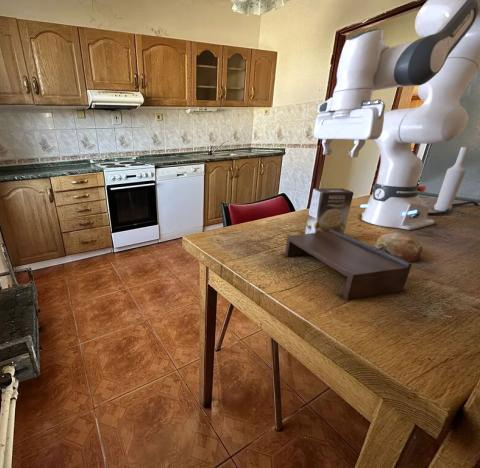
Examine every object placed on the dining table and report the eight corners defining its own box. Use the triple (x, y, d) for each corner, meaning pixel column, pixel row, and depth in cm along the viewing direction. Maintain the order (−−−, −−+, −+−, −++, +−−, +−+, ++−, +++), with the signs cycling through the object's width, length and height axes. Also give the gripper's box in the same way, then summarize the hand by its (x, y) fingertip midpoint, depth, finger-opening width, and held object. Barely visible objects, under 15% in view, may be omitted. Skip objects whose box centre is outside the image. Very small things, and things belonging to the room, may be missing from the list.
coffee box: (312, 242, 82) (321, 192, 76) (304, 234, 88) (312, 188, 82) (342, 242, 81) (354, 192, 75) (332, 234, 87) (342, 187, 81)
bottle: (439, 211, 106) (463, 147, 97) (430, 208, 111) (451, 147, 101) (454, 211, 105) (479, 147, 96) (443, 208, 110) (466, 146, 101)
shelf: (327, 249, 76) (332, 228, 74) (402, 290, 56) (412, 263, 54) (284, 255, 74) (287, 233, 72) (347, 299, 54) (354, 271, 52)
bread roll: (367, 260, 77) (365, 240, 73) (389, 241, 78) (389, 220, 75) (406, 275, 68) (407, 253, 64) (431, 253, 70) (433, 231, 66)
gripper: (397, 98, 61) (381, 158, 66) (331, 106, 80) (323, 153, 85) (375, 98, 60) (360, 159, 65) (313, 107, 79) (306, 154, 84)
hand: (339, 155), depth 75 cm, fingers open, 8 cm apart
